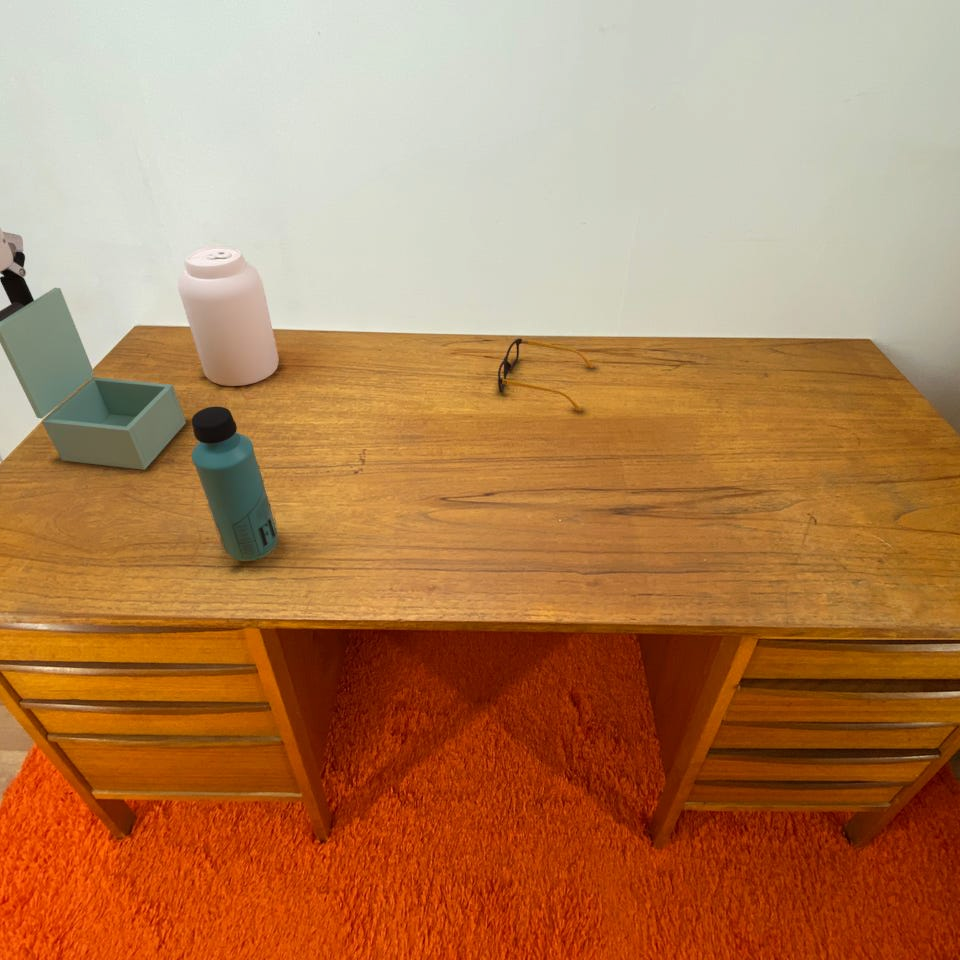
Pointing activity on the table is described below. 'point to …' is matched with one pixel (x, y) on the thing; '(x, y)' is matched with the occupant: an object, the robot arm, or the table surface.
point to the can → (228, 316)
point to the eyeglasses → (503, 381)
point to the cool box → (115, 423)
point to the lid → (44, 350)
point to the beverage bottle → (233, 485)
